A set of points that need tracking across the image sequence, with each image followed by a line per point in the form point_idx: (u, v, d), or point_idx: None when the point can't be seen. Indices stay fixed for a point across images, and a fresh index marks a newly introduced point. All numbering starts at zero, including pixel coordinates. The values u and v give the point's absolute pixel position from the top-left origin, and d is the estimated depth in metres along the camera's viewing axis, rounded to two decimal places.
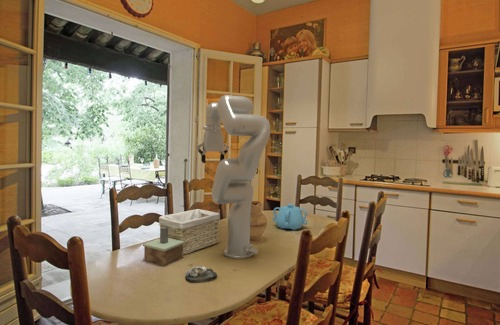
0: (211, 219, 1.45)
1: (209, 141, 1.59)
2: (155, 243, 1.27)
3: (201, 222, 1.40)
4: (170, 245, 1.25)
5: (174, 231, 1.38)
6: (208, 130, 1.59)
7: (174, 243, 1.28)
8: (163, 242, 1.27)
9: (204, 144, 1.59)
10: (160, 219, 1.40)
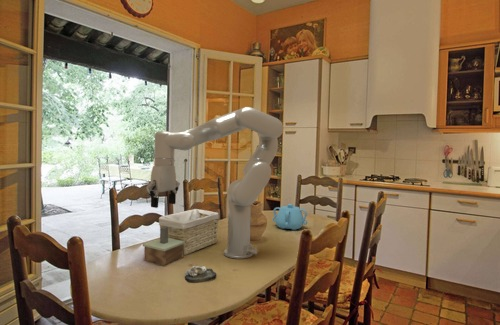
0: (211, 219, 1.45)
1: None
2: (155, 243, 1.27)
3: (202, 222, 1.40)
4: (170, 245, 1.25)
5: (175, 231, 1.38)
6: None
7: (174, 243, 1.28)
8: (163, 242, 1.27)
9: None
10: (160, 220, 1.39)
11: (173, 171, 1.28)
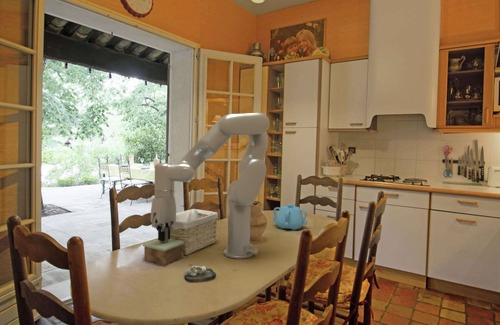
0: (211, 218, 1.46)
1: None
2: (155, 243, 1.27)
3: (202, 222, 1.41)
4: (170, 245, 1.25)
5: (176, 232, 1.37)
6: None
7: (174, 243, 1.28)
8: (163, 242, 1.27)
9: None
10: None
11: (173, 202, 1.29)
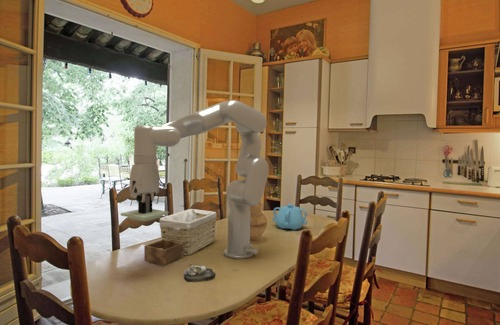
0: (211, 218, 1.47)
1: None
2: (135, 212, 1.13)
3: (203, 221, 1.41)
4: (151, 214, 1.10)
5: (177, 232, 1.37)
6: None
7: (156, 213, 1.13)
8: None
9: None
10: (161, 221, 1.37)
11: (156, 171, 1.14)
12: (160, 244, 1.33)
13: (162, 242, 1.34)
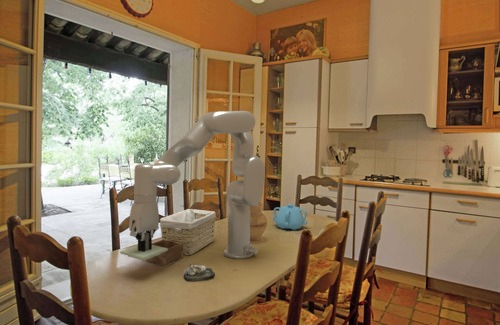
0: (210, 218, 1.47)
1: None
2: (134, 250, 1.13)
3: (204, 221, 1.41)
4: (151, 253, 1.11)
5: (178, 232, 1.37)
6: None
7: (155, 250, 1.14)
8: None
9: None
10: (162, 221, 1.36)
11: (156, 208, 1.15)
12: (160, 244, 1.33)
13: (162, 242, 1.34)
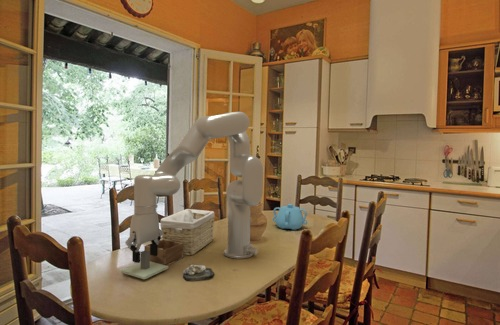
0: (210, 217, 1.48)
1: None
2: (135, 269, 1.14)
3: (204, 221, 1.42)
4: (151, 272, 1.12)
5: (179, 232, 1.36)
6: None
7: (156, 269, 1.14)
8: (144, 268, 1.14)
9: None
10: (162, 222, 1.35)
11: (156, 219, 1.15)
12: (160, 244, 1.33)
13: (162, 242, 1.34)
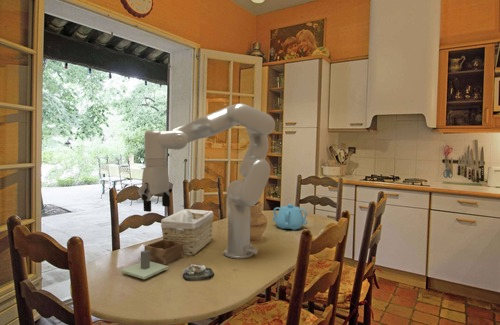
0: (209, 217, 1.48)
1: None
2: (135, 269, 1.14)
3: (204, 221, 1.42)
4: (151, 271, 1.12)
5: (180, 232, 1.36)
6: None
7: (156, 269, 1.14)
8: (144, 268, 1.14)
9: None
10: (163, 222, 1.35)
11: (166, 172, 1.21)
12: (160, 244, 1.33)
13: (162, 242, 1.34)
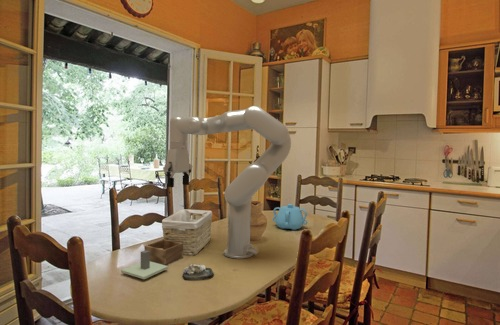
0: (209, 217, 1.49)
1: None
2: (135, 269, 1.14)
3: (205, 220, 1.43)
4: (151, 271, 1.12)
5: (181, 233, 1.36)
6: None
7: (156, 269, 1.14)
8: (144, 268, 1.14)
9: None
10: (164, 222, 1.34)
11: (187, 154, 1.39)
12: (160, 244, 1.33)
13: (162, 242, 1.34)
